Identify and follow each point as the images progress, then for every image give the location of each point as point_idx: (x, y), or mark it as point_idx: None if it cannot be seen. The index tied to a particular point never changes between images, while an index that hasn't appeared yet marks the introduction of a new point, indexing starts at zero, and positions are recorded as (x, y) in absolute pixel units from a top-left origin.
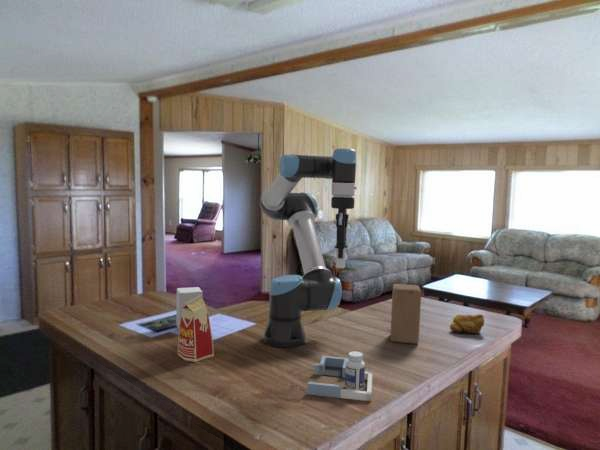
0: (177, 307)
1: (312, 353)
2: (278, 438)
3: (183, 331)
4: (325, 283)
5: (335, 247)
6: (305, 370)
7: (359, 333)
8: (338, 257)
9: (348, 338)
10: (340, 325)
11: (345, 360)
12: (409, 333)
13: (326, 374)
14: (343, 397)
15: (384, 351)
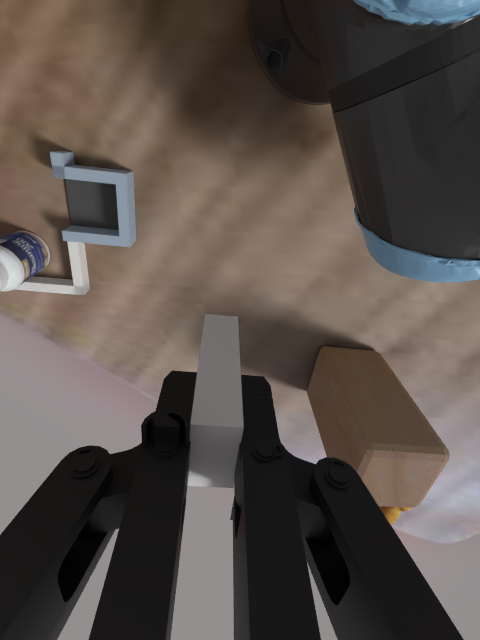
0: None
1: (214, 137)
2: None
3: None
4: (418, 201)
5: (146, 424)
6: (81, 121)
7: (388, 277)
8: (167, 377)
9: (347, 246)
10: None
11: (112, 238)
12: (314, 392)
13: (68, 185)
14: None
15: (257, 325)
